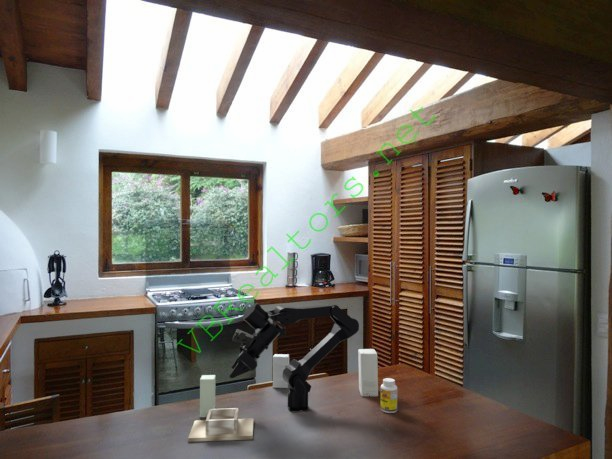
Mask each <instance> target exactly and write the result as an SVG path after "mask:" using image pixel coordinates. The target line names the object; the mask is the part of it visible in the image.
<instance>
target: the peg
mask: <svg viewBox="0 0 612 459" xmlns="http://www.w3.org/2000/svg"><path fill="white" fill-rule="evenodd" d="M216 377H217V376H216V374H201V377H200V378H199V418H207V415H208V412H209V409H216Z"/></svg>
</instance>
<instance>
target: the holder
mask: <svg viewBox="0 0 612 459" xmlns="http://www.w3.org/2000/svg"><path fill="white" fill-rule="evenodd" d="M205 418H206V419H202V420H200V419H197V420H194V421H193V425H192V427H191V429H190V433H189V435H188V438H187V442H188V443H192V442H215V441H216V442H217V441H241V440H246V441H247V440H253V438H254V418H250V417H249V418H239V407H229V408H228V407H227V408H222V407H221V408H215V409H209V412H208V415H207V417H205Z"/></svg>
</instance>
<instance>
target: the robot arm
mask: <svg viewBox="0 0 612 459" xmlns="http://www.w3.org/2000/svg"><path fill="white" fill-rule="evenodd" d="M324 317H330V318H331V319H332V321H333V322H334V323H333V326H332V328H331V331H330V332H329V333H328V334H327V335H326V336H325V337H324V338H323V339H321V341H320V342H319V343H318V344H316V345H315V346H314V347H313V348H312V349H311V350H310V351H309V352H308V353H307V354H306V355H305V356H304V357H302V359H299V360H297V359H295V358H293V359H292V360H290V361H289V364H288V365H286V366H285V367H286V368H285V369H284V370H283V375H282V377H283V380H284V381H285V382H286V383H287V385H288V388H289V389H288V391H289V392H287V395H286V397H287V400H286V401H287V402H286V404H287V407H288V409H289V412H303V411H304V412H306V411H307V412H308V411H309V410H310V408H309V393H310V392H311V390H312V389H311V388H312V385H311V384H310V383H309V382H308V381H307V380H308V379H309V376H310V373H311V372H312V370H313V369H314V368H315V367H316V366H318V364H319V363H320V362H321V361H322V360H323V359H324V358H325V357H326V356H328V354H329V353H330V352H332V351H333V350H334V348H335V347H337V346H338V345H339V344H340V343H341V342H342V341H345V340H349V339H350V338H352V337H354V336H355V335H356V334H357V333H358V332H359V330H360V324H359V321H358V320H357V319H356V318H354V317H351V316H350V315H349V314H347V313H346V312H345V311H344V310H342V308H341V307H340V306H339V305H337V304H335V303H327V304H320V305H310V306H309V305H308V306H293V305H292V306H291V305H283V304H282V305H277V306H276V307H274V309H272V310H268V311H266V310H264V309H263V307H262V306H261V305H260V304H259V303H257V302H256V303H254V304H253V305H252V306H250V307H249V308H248V309H246V310H245V312H244V313H243V314H242V320H243V321H245V322H246V323H247V324H248V325H249V326H250V327H251V328H253V330H255V331H256V330H258V331H257V332H254V333H253V334H250V333H248V332H246V331H244V330H242V329H239V328H236V329H235V332H234V334H233V337H232V341H233V342H235V343H238V344H240V346H239V347H240V348H239V351H240V352H239V355H238V356H237V358H236V359H235V360H234V363H233V364H232V365H231V369H232V371H231V372H230V374H229V378H230V379H234V378H236V377H238V376H241V375H244V374H246V373H249V372H252V371H254V370H255V369H256V368H257V367H258V360H259V359H260V357H261V354H262V353H263V352H265V350H268V349H269V347H270V345H271V344H272V343H273V342H274V341H275V340H276V339H277V337H278V336H279V335H281V336H282V337H283V338H286V337H287V335H286V330H287V328H286V326H288V325H289V326H290V325H292V324H294V323H298V322H299V321H302V320H309V319H318V318H324ZM269 319H270V320H269ZM279 324H281V325H283V326H281V325H279Z"/></svg>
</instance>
